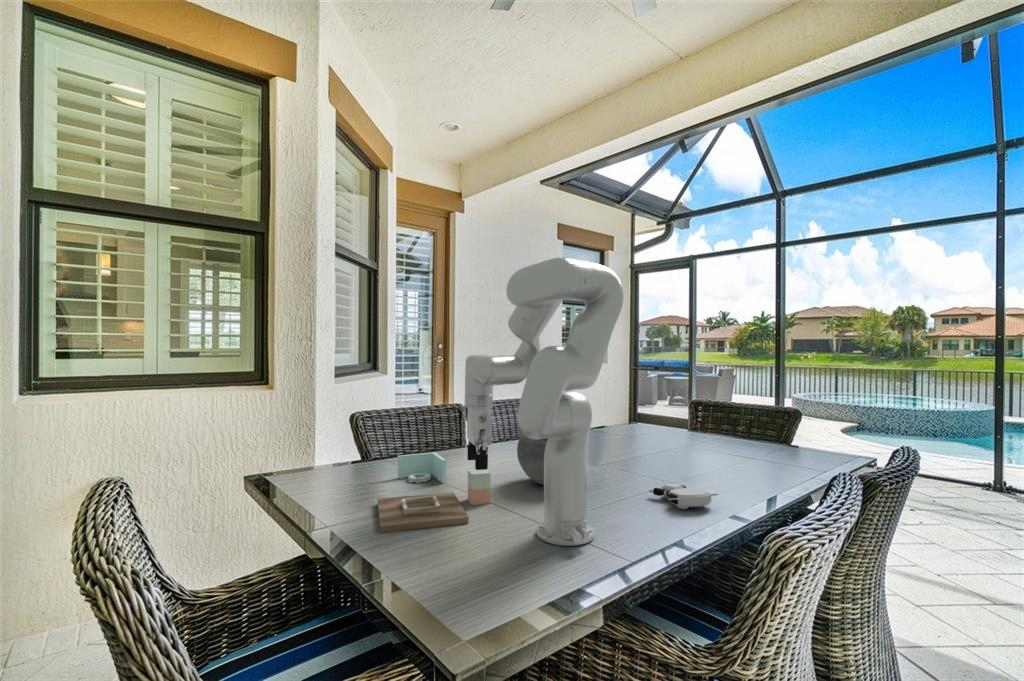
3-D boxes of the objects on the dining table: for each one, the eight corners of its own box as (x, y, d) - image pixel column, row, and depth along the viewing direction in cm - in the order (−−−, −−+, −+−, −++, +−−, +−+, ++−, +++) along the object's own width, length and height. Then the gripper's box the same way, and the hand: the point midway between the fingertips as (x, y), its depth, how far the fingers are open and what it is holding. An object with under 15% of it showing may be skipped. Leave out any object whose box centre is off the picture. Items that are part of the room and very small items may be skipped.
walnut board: (468, 523, 113) (468, 511, 113) (380, 532, 107) (380, 520, 107) (453, 497, 132) (453, 487, 132) (377, 504, 126) (377, 494, 126)
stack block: (490, 503, 127) (490, 473, 128) (471, 505, 126) (471, 474, 126) (485, 497, 132) (485, 468, 132) (467, 499, 131) (467, 469, 131)
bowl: (585, 496, 134) (585, 442, 134) (510, 491, 138) (510, 438, 138) (588, 476, 154) (588, 429, 154) (523, 472, 158) (523, 426, 159)
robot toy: (645, 500, 133) (680, 514, 119) (645, 483, 133) (679, 496, 119) (683, 496, 137) (721, 510, 122) (682, 480, 137) (720, 491, 123)
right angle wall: (397, 479, 152) (397, 455, 152) (434, 475, 157) (434, 452, 157) (406, 490, 141) (406, 464, 141) (445, 485, 146) (445, 460, 146)
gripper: (500, 405, 122) (499, 472, 123) (484, 396, 139) (483, 455, 139) (471, 406, 120) (470, 474, 120) (458, 397, 137) (457, 457, 137)
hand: (477, 464), depth 130 cm, fingers open, 9 cm apart
